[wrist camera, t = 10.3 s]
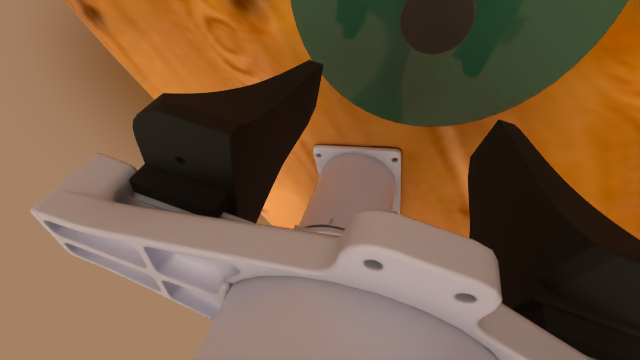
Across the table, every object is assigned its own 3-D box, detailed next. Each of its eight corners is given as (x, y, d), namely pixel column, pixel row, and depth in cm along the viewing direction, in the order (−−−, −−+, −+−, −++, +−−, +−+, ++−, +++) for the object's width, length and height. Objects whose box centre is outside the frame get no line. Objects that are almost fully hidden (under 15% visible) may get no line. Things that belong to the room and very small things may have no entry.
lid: (566, 118, 16) (593, 178, 13) (320, 114, 20) (297, 159, 17) (787, -395, 7) (1053, -600, 4) (260, -205, 11) (188, -231, 8)
